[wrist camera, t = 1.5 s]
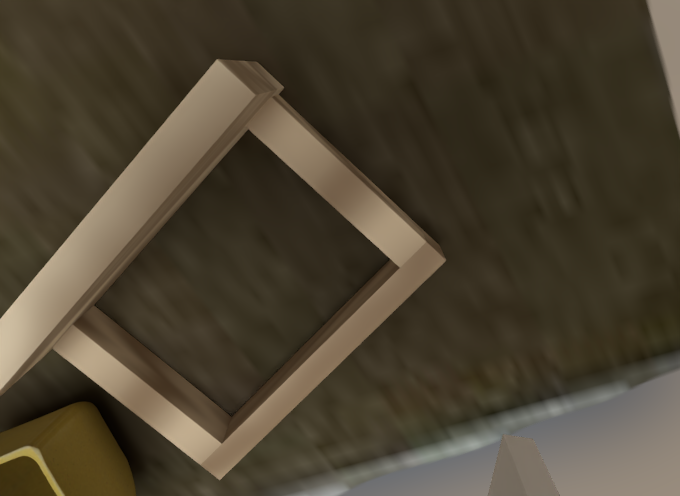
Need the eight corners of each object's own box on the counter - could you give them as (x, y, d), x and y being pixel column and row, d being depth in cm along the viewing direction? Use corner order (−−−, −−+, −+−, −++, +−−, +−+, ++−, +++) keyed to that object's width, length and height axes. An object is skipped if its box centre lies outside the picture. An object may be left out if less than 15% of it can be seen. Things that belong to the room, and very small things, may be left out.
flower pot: (-15, 410, 41) (-116, 503, 32) (102, 362, 40) (31, 445, 31) (54, 517, 43) (-23, 631, 34) (168, 475, 42) (118, 582, 33)
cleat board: (43, 311, 39) (-61, 392, 29) (256, 61, 34) (217, 59, 25) (224, 455, 41) (183, 574, 31) (445, 239, 37) (476, 299, 27)
